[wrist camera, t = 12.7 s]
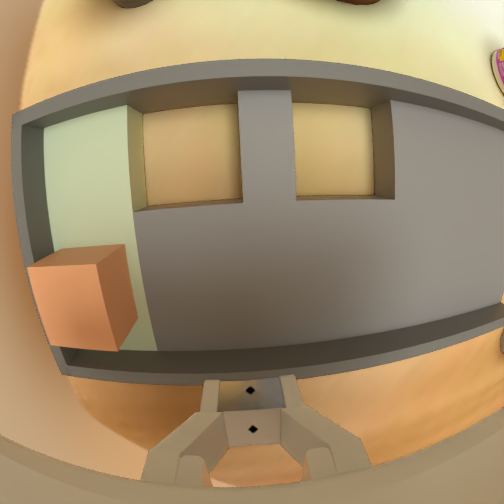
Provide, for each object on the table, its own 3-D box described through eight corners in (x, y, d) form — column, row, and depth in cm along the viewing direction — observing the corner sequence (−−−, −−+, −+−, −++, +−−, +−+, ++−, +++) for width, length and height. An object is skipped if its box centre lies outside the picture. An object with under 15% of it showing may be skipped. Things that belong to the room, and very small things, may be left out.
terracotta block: (124, 243, 16) (96, 264, 12) (138, 317, 17) (117, 351, 14) (61, 248, 16) (26, 267, 12) (77, 316, 17) (50, 345, 13)
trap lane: (493, 126, 18) (533, 124, 12) (481, 299, 22) (513, 321, 17) (56, 122, 16) (12, 114, 11) (89, 337, 21) (61, 374, 16)
